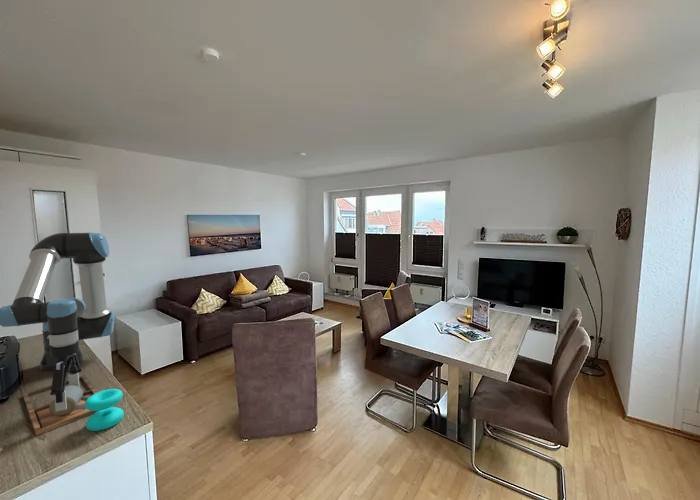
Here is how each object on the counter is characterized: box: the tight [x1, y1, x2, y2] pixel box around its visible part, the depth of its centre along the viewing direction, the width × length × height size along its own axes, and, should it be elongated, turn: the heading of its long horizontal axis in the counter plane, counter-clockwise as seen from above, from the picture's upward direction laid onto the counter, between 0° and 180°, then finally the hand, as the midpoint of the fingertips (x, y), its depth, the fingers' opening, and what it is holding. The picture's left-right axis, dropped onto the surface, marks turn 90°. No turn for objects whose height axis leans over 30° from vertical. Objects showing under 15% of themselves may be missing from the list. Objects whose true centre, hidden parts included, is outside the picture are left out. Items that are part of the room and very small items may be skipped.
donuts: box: [85, 388, 125, 432], centre depth 101 cm, size 10×10×10 cm
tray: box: [22, 374, 99, 436], centre depth 113 cm, size 35×18×1 cm, turn 53°
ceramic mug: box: [49, 385, 88, 416], centre depth 108 cm, size 11×8×8 cm
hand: (68, 399), depth 107 cm, fingers open, 13 cm apart
